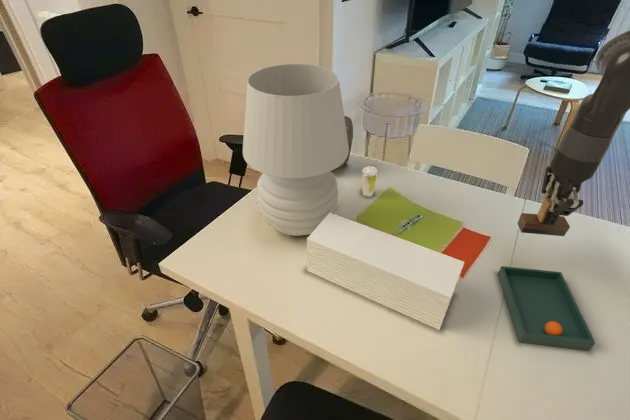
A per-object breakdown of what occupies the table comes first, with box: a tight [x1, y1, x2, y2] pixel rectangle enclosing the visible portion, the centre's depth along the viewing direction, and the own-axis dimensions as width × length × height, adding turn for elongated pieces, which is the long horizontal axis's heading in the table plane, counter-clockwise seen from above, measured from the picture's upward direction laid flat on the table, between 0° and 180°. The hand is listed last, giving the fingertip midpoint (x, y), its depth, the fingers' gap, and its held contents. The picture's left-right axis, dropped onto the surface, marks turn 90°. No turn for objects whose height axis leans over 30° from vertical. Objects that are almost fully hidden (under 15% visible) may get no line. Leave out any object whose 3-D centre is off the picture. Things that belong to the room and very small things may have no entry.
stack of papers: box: [306, 213, 465, 331], centre depth 83 cm, size 32×11×11 cm, turn 60°
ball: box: [545, 321, 562, 336], centre depth 74 cm, size 3×3×3 cm
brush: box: [517, 198, 571, 237], centre depth 81 cm, size 9×4×8 cm, turn 82°
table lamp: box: [242, 63, 349, 237], centre depth 91 cm, size 25×25×40 cm
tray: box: [497, 265, 596, 352], centre depth 80 cm, size 13×18×3 cm
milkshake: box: [362, 165, 381, 198], centre depth 111 cm, size 4×5×10 cm
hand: (545, 219), depth 82 cm, fingers closed on brush, 2 cm apart
